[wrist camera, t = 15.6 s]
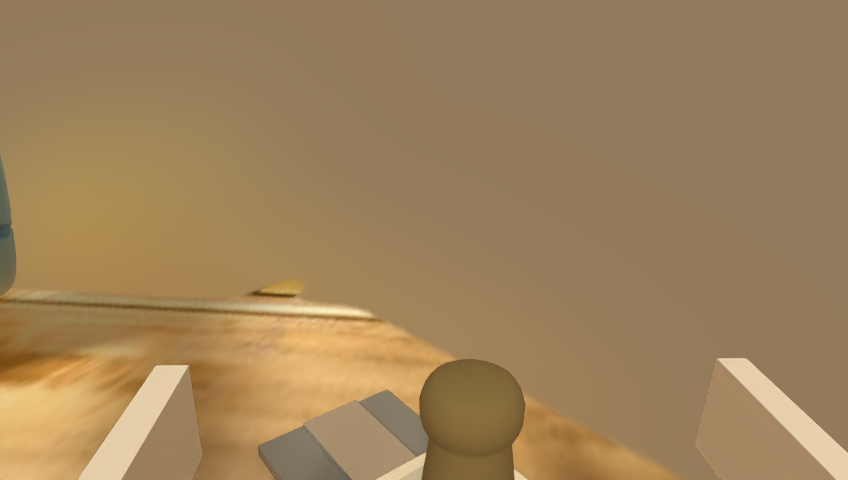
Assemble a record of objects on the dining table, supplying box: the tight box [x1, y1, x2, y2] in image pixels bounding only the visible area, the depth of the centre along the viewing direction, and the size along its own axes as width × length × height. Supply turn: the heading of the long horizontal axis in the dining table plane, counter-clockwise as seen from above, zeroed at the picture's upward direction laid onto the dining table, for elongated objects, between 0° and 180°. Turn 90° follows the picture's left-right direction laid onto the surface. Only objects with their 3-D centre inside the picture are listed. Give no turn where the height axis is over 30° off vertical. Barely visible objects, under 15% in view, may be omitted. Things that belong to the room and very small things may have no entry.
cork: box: [419, 359, 525, 480], centre depth 29 cm, size 6×6×11 cm
